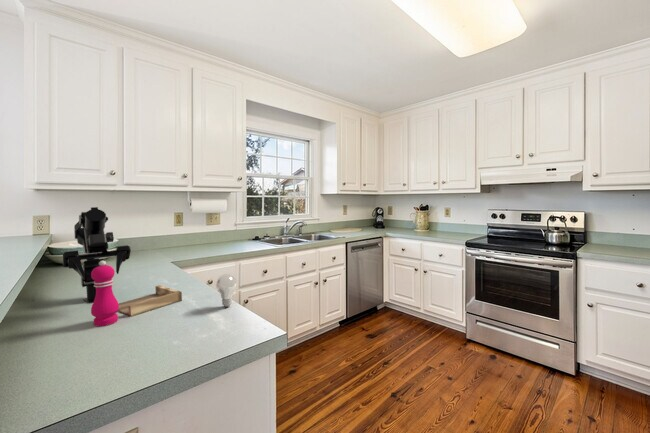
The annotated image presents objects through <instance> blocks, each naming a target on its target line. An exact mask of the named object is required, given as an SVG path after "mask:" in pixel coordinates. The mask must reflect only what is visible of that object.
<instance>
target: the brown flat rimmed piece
mask: <svg viewBox="0 0 650 433" xmlns="http://www.w3.org/2000/svg"><path fill="white" fill-rule="evenodd" d="M182 301H183V294H182V291H181V290H176V289H174V288H170V287H166V286H163V285H159V284H158V285H155V293H152V294H149V295H145V296H140V297H137V298H133V299H130V300H126V301H123V302H118V304H119V310H118V311H117V312H119V313H121V314H123V315H127V316H128V317H131V318H132V317H135V316H139V315H142V314H144V313H147V312H152V311H154V310H157V309H160V308H163V307H166V306H169V305H172V304H173V305H174V304H176V303H179V302H182Z"/></svg>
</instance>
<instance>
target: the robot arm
mask: <svg viewBox="0 0 650 433" xmlns="http://www.w3.org/2000/svg"><path fill="white" fill-rule="evenodd" d="M108 221H109V216H107V214H106V213H105V211H103V210H102V209H99V207H97V206H95V207H90V209H89V210H87V211H81V213H80V214H79V215H78V222H76V224H74V229H73V230H74V240H76V241H77V244H79V245H81V246H82V247H83V253H79V250H78V249H76V250H68V251H67V250H65V251H63V253H62V266H63V267H62V268H68V269H71V270H72V269H73V270H74V271H75V272H76V273H78V274H79V276H80V285H81V287H82V288H84V287H85V288H86V297H85V298H83V301H85V302H87V303H89V304H91V303H92V304H93V302H94V300H95V296H96V287H94V282H95V281H94V280H93V279H92V277H91V272H92V270H93V269H94V268H96V267H98V266H100V265H99V262H100V261H105V262H106V260H105V259H104V258H112V257H115V258H116V259H115V272H116V275H119V273H120V269H121V266H122V264H123V263H124V262H126V261H127V260H129V259H130V256H131V252H132V251H131V246H129V245H128V244H126V245H117V246H116V248H115V250H108V249H109V243H113V242H114V240H115V239H114V233H113V231H110V232H105V228H106V223H107V222H108ZM83 260H84V261H83ZM82 261H83V264H82ZM105 265H107V263H106V264H105Z"/></svg>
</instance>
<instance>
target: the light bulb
mask: <svg viewBox="0 0 650 433" xmlns="http://www.w3.org/2000/svg"><path fill="white" fill-rule="evenodd" d="M215 284H216V286H215V287H216V289H217V291H218V293H219V294H220V298H221V305H223V306H224V308H229V307H230V306H231V305H232V304H233V302H232V300H233V299H232V297H233V294H234V292H235V290H236V287H237V280H236V277H235V276H234V275H232V274H230V273H223V274H222V275H220V276H219V277H218V278H217V280H216V283H215Z"/></svg>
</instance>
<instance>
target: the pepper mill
mask: <svg viewBox="0 0 650 433" xmlns="http://www.w3.org/2000/svg"><path fill="white" fill-rule="evenodd" d="M105 264H106V265H105ZM99 265H100V266H98V267H96V268H94V269H93V270H92V272H91V277H92V279H93V280H94V281H95V282H94V287H96V296H95V300H94V302H92V305H91V308H90V313H91V316H93V317H94V318H93V326H94V327H106V325H107V326H110V325H113V324H115V323H117V322H118V320H119V317H118V316H119V315H118V314H117V313H118V312H119V311H118V310H119V301H118V300H117V298H116V296H115V294H114V292H113V285H114V279H113V278H114V276H115V275H116V274H115V272H116V270H115V269H114V267H113V266H112V265H108V264H107V261H106V260H105V261H100V262H99Z"/></svg>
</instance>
